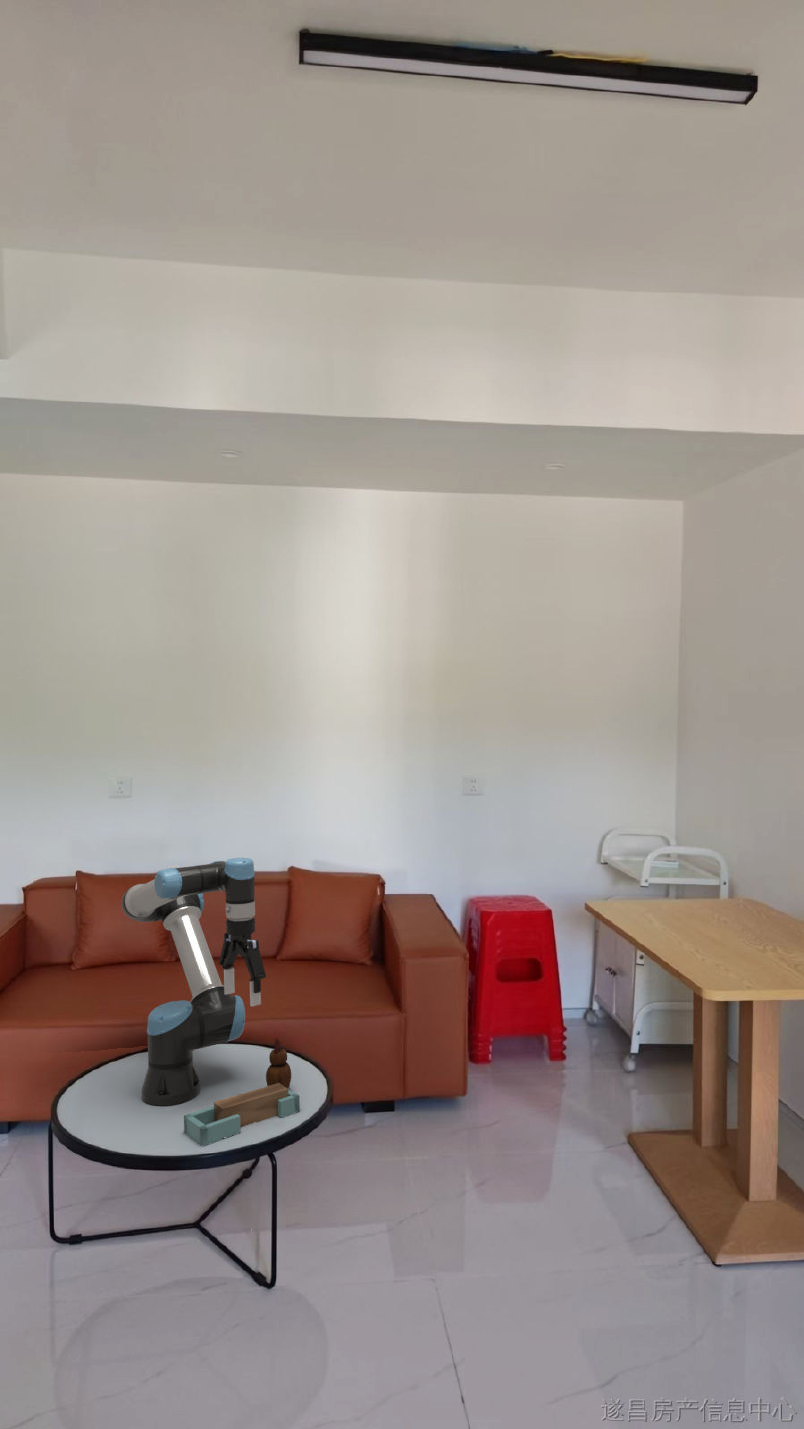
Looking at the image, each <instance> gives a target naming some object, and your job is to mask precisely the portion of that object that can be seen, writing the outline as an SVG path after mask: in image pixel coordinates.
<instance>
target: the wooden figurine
mask: <svg viewBox="0 0 804 1429" xmlns="http://www.w3.org/2000/svg"><path fill="white" fill-rule="evenodd" d="M281 1043H282V1042H281V1041H280V1040H279V1037H275V1039H274V1049H272V1050H271V1051H270V1052H269V1063H270V1065H269V1067H268V1068H267V1069H266V1073H265V1082H266V1087H267V1086H270V1085H274V1084H277V1083H280V1084H281V1085H283V1086H284V1087H286V1088H287V1089H289V1088H290V1085H291V1081H292V1069H291V1066H290V1064H289V1062H287V1061H288V1053H287V1052H288V1051H287V1050H286V1049H285V1048H282V1044H281Z"/></svg>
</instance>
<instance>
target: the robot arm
mask: <svg viewBox="0 0 804 1429" xmlns="http://www.w3.org/2000/svg"><path fill="white" fill-rule="evenodd" d="M254 864H255V863H254V861H253V859H252V858H249V857H233V858H229V859H227V860H225V861H224V860H221V861H220V860H215V861H212V862H210V863H207V864H199V865H194V866H193V865H191V866H182V867H174V868H173V867H169V868H166V869H159V870H158V871H157V872H156V874H155V876H154V879H152V880H150V881H149V882H146V883H138V884H136V885H133V886H131V887H130V888H128V889H126V891H125V892H124V893H123V896H122V898H121V909H122V911H123V913H124V915H126V917H128V918H129V919H131V920H133V921H135V922H138V923H139V922H140V923H151V922H160V921H161V923H162V925H163V928H164V929H165V930H167V931H170V932H171V936H172V940H173V941H174V944H175V947H176V950H177V953H178V957H179V960H180V963H181V965H182V968H183V972H184V974H185V977H186V981H187V983H188V987H189V990H190V993H191V995H192V998H191V999H190V1001H189V1000H185V999H183V1000H178V1001H177V1000H172V1001H169V1002H168V1001H167V1002H165V1003H162V1004H160V1005H159V1006H156V1007H154V1009H153V1010H151V1011H150V1012H149V1015H148V1017H147V1028H146V1034H147V1061H148V1062H147V1066H148V1067H147V1071H146V1074H145V1077H144V1081H143V1084H142V1088H141V1099H142V1101H143V1102H145V1103H146V1104H148V1105H153V1106H160V1107H161V1106H162V1107H163V1106H172V1105H178V1104H183V1103H185V1102H188V1101H190V1100H192V1099H194V1098H195V1097H197V1096H198V1095H199V1094H200V1092H201V1081H200V1078H199V1076H198V1072H197V1070H196V1066H195V1064H194V1055H193V1054H194V1051H196V1050H198V1049H203V1048H206V1047H211V1046H216V1045H221V1044H224V1043H225V1044H226V1043H228V1042H230V1041H234V1040H237V1039H239V1038H240V1036H242V1034H243V1031H244V1030H245V1025H246V1024H245V1023H246V1009H245V1004H244V1001H243V999H242V997H241V996H240V995H237V994H235V993H236V991H235V990H236V988H235V968H234V967H235V962H236V959H237V957H238V955H239V956H240V957H241V958H242V959H243V960H244V963H245V965H246V968H247V971H248V973H249V977H250V979H249V980H248V981H249V1006H250V1007H255V1006H259V1005H262V998H261V996H262V995H261V994H262V989H261V988H262V987H261V985H262V984H261V981H262V979H265V978H266V971H265V966H264V963H263V959H262V956H261V955H262V954H261V951H260V945H259V944H260V943H259V939H252V934H254V932H255V931H256V918H255V916H256V900H255V899H256V898H255V894H256V893H255V873H256V871H255V866H254ZM215 892H225V909H224V910H225V917H226V918H227V919H226V920H225V925H226V926H225V929H226V930H225V931H226V933H225V932H224V934H223V935H224V936H223V944H222V948H221V952H220V957H219V960H218V964H219V966H221V967H222V969H223V984H222V981H221V979H220V976H219V973H218V970H217V967H216V965H215V961H214V959H213V956H212V954H211V951H210V948H209V945H208V942H207V940H206V936H205V934H204V932H203V928H202V925H201V923H200V919H201V917H202V913H203V910H204V908H205V907H204V906H205V899H204V894H207V893H209V894H210V893H215ZM232 994H235V995H232Z"/></svg>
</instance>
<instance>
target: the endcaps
mask: <svg viewBox="0 0 804 1429" xmlns="http://www.w3.org/2000/svg"><path fill="white" fill-rule="evenodd" d="M300 1100H301V1099H300V1095H299V1094H297V1093H296V1092H294V1091H293V1090H290V1089H289V1088H288V1097H285V1098H282V1099H279V1100H278V1116H277V1117H278V1118H280V1119H281V1118H282V1119H283V1118H284V1117H288V1116H291V1115H293V1113H294V1114H296V1113H298V1112H300V1111H301V1110H300V1109H301V1108H300V1106H301V1105H300ZM295 1112H296V1113H295ZM290 1114H291V1115H290ZM241 1128H242V1127H240V1116H239V1115H238V1114H236V1115H233V1116H230V1117H227V1118H224V1119H221V1120H218V1121H216V1122H214V1105H212V1106H209V1107H207V1108H206V1107H205V1108H204V1109H200V1110H198V1111H195V1112H191V1113H188V1114H185V1115H184V1116H183V1132H184V1133H185V1134H186V1135H187V1136H189V1137H190V1138H191V1139H192V1140H194V1141H195V1142H196V1143H197V1144H199V1145H200V1146H202V1145H203V1146H202V1147H205V1146H207V1145H208V1146H209V1145H210V1143H211V1144H213V1142H214V1143H216V1142H218V1141H217V1140H219V1141H221V1140H220V1139H222V1138H224V1137H227V1138H230V1137H233V1136H236V1135H238V1134H240V1133H241V1132H242V1130H241ZM237 1133H238V1134H237ZM235 1134H236V1135H235ZM232 1135H233V1136H232ZM222 1140H223V1139H222ZM215 1141H216V1142H215ZM204 1145H205V1146H204Z"/></svg>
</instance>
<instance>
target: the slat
mask: <svg viewBox="0 0 804 1429" xmlns="http://www.w3.org/2000/svg"><path fill="white" fill-rule="evenodd" d="M288 1089H289V1088H288ZM288 1089H287V1088H286V1087H284V1086H283V1085H281V1084H280V1083H277V1084H274V1085H270V1086H267V1085H266V1086H264V1087H259V1088H257V1089H254V1090H250V1091H246V1092H244V1093H240V1094H237V1095H232V1096H230V1097H229V1096H228V1097H227V1098H222V1099H220V1100H216V1101H213V1106H214V1122H216V1121H218V1120H221V1119H224V1118H227V1117H230V1116H233V1115H236V1114H238V1115H239V1116H240V1128H243V1127H247V1126H249V1124H250V1125H253V1124H255V1123H254V1122H256V1123H258V1122H262V1121H266V1120H268V1119H271V1117H272V1118H274V1117H278V1116H277V1115H278V1100H279V1099H282V1098H285V1097H288ZM261 1120H262V1121H261ZM252 1123H253V1124H252Z"/></svg>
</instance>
